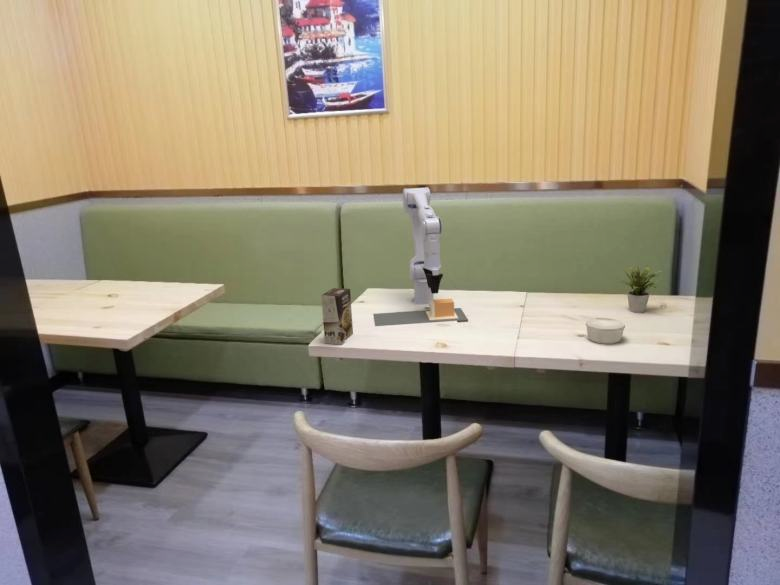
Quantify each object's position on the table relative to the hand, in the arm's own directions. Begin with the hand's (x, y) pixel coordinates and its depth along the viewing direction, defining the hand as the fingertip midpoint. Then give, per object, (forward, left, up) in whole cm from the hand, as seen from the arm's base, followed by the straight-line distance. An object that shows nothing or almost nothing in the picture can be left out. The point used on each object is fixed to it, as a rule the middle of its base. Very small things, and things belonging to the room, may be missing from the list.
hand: (433, 290), depth 206 cm
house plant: (+11, +70, -10) cm, 71 cm away
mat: (+2, -5, -9) cm, 11 cm away
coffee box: (+18, -33, -10) cm, 39 cm away
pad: (+2, +3, -9) cm, 10 cm away
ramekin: (+34, +48, -10) cm, 59 cm away
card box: (+2, +3, -9) cm, 9 cm away
